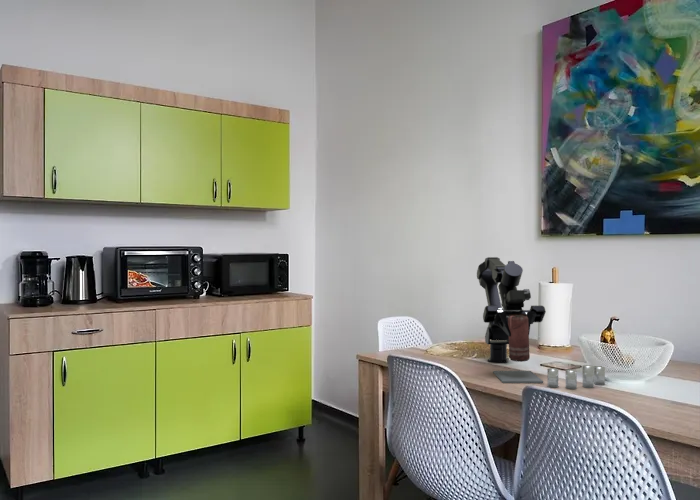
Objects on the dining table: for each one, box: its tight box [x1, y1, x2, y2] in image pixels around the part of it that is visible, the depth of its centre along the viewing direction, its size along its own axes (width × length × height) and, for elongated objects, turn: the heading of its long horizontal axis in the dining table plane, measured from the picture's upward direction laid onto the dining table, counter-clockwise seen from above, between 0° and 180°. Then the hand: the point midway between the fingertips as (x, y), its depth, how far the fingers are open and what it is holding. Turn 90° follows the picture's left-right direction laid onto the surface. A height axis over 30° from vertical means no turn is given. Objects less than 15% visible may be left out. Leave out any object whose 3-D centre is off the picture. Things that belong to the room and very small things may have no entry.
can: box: [508, 314, 531, 363], centre depth 179 cm, size 6×6×14 cm
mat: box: [492, 370, 544, 384], centre depth 179 cm, size 14×12×1 cm
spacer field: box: [547, 364, 606, 390], centre depth 170 cm, size 8×21×6 cm, turn 114°
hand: (519, 335), depth 178 cm, fingers closed on can, 5 cm apart
